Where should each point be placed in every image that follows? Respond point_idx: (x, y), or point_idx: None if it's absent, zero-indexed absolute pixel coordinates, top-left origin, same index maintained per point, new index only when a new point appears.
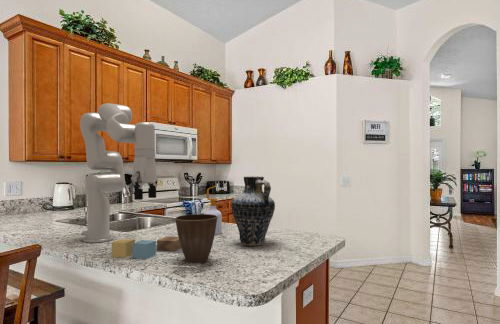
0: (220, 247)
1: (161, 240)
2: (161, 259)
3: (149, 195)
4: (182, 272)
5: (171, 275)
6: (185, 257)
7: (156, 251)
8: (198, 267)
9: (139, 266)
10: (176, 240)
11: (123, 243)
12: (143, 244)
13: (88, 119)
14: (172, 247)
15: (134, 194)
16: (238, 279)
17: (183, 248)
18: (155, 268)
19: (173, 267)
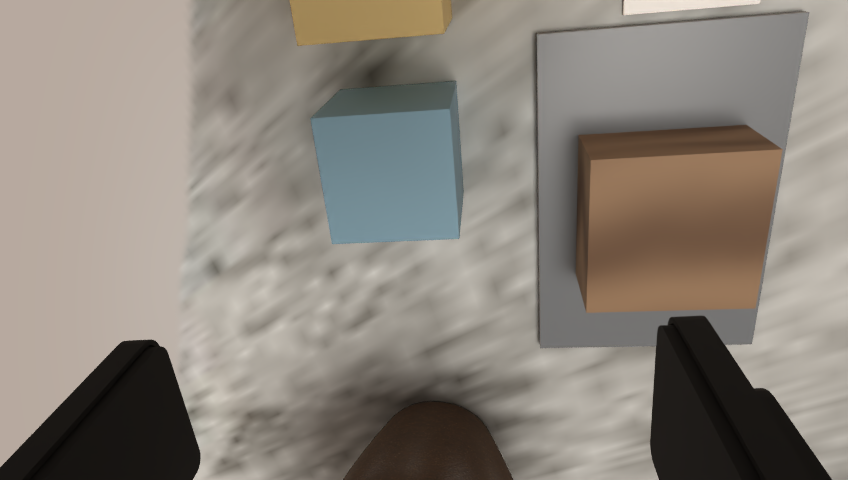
0: None
1: (589, 202)
2: (408, 264)
3: (670, 373)
4: (262, 446)
5: (208, 424)
6: (379, 432)
7: (541, 153)
8: None
9: (242, 224)
10: (615, 309)
11: (294, 22)
12: (327, 213)
13: None
14: (579, 268)
15: (64, 405)
16: None
17: (347, 473)
18: (254, 319)
19: (305, 386)
